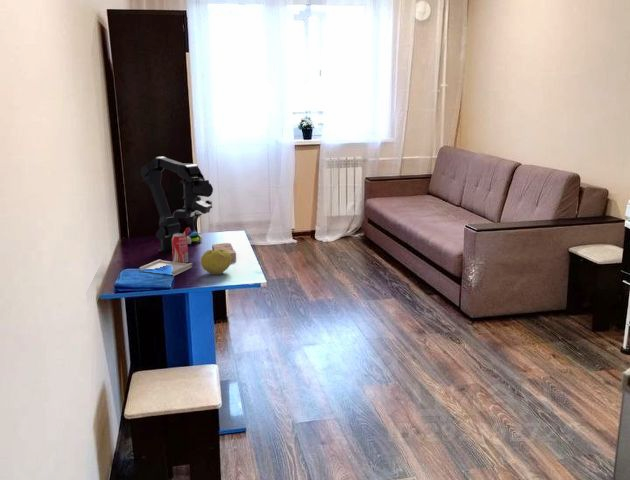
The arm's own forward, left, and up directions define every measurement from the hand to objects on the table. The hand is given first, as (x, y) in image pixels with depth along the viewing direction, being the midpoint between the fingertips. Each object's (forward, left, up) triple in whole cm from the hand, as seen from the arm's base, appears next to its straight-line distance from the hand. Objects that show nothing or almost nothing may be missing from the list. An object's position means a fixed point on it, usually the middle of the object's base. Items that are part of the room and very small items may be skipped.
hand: (192, 230), depth 253 cm
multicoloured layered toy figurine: (-15, +21, -12) cm, 28 cm away
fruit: (+22, -18, -12) cm, 31 cm away
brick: (+13, +4, -12) cm, 18 cm away
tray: (0, -20, -11) cm, 23 cm away
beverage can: (0, -10, -12) cm, 15 cm away
